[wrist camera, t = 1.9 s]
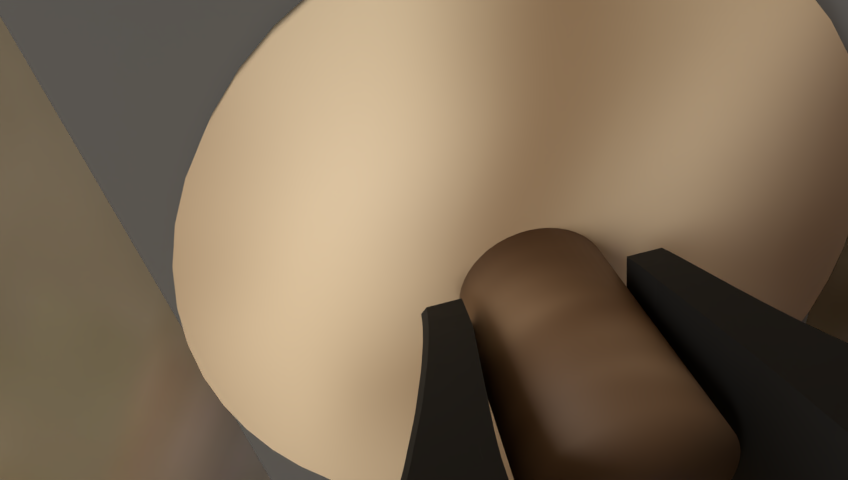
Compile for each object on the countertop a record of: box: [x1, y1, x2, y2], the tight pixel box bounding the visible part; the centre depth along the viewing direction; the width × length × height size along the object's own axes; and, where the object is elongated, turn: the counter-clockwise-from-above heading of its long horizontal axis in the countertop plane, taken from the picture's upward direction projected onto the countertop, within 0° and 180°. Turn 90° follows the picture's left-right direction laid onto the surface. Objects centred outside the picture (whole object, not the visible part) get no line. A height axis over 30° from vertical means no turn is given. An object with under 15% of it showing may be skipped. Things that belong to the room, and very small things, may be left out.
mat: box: [0, 0, 848, 480], centre depth 11 cm, size 13×13×1 cm
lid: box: [173, 0, 848, 480], centre depth 9 cm, size 12×12×5 cm
